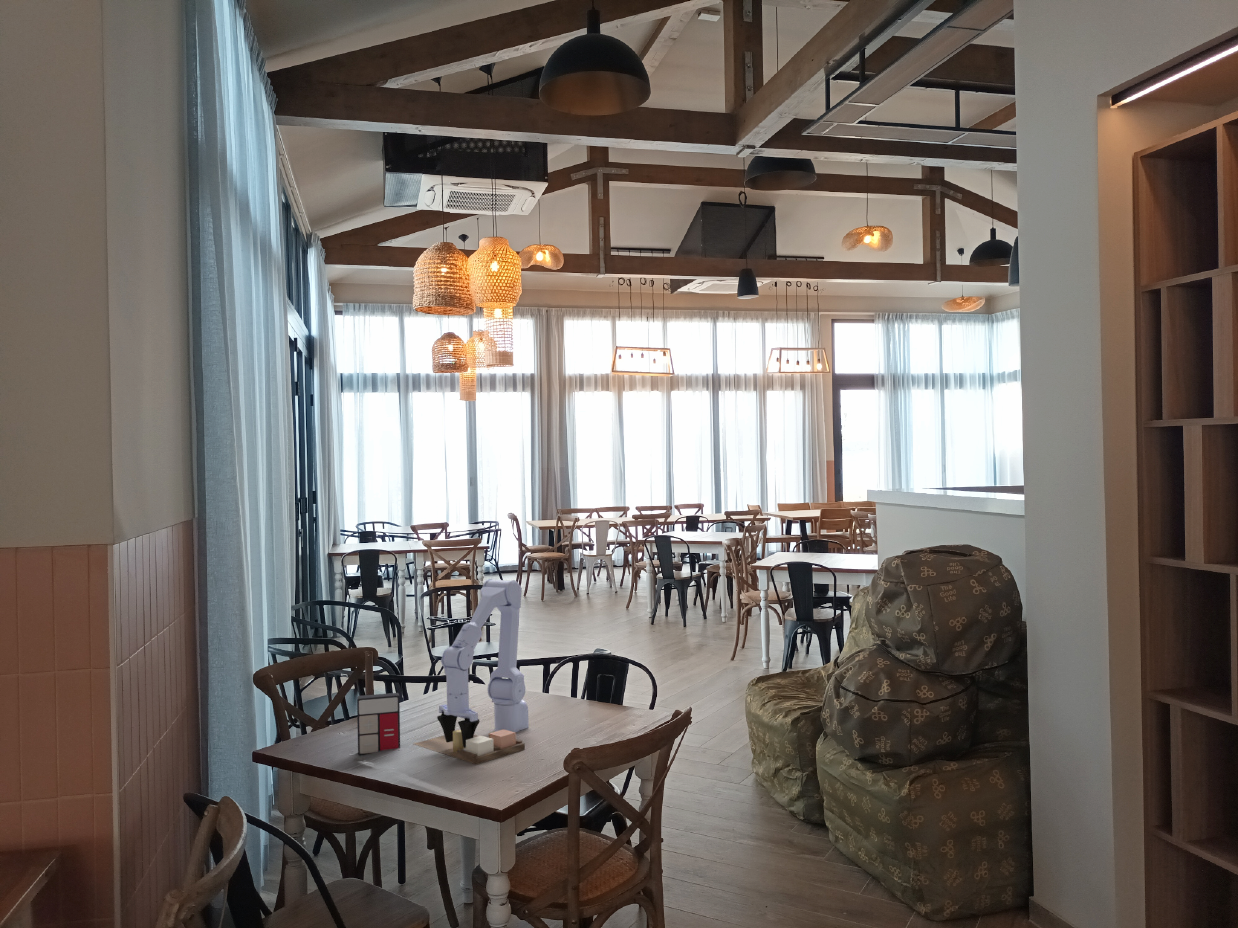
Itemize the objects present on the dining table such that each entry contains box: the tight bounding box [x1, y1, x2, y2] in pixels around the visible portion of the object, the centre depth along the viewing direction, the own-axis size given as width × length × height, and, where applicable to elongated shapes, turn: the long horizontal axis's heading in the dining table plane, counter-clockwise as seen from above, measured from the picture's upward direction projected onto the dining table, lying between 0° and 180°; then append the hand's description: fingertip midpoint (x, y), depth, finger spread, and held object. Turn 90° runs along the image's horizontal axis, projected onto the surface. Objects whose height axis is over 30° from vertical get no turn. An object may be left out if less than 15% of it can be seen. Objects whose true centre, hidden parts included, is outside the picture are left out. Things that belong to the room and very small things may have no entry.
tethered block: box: [453, 729, 494, 756], centre depth 228 cm, size 5×13×5 cm, turn 47°
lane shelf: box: [413, 734, 526, 765], centre depth 235 cm, size 16×28×3 cm, turn 47°
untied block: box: [488, 729, 517, 749], centre depth 231 cm, size 5×5×4 cm
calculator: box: [356, 692, 401, 756], centre depth 236 cm, size 11×4×15 cm, turn 105°
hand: (458, 743), depth 232 cm, fingers open, 7 cm apart
